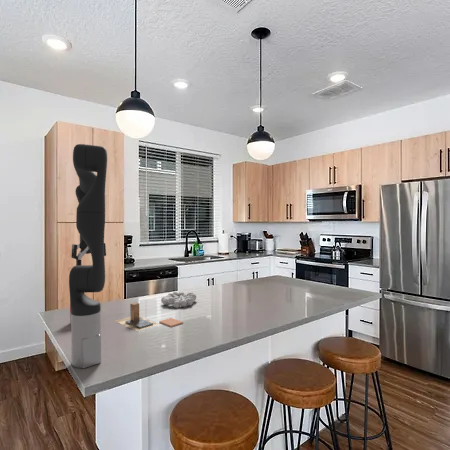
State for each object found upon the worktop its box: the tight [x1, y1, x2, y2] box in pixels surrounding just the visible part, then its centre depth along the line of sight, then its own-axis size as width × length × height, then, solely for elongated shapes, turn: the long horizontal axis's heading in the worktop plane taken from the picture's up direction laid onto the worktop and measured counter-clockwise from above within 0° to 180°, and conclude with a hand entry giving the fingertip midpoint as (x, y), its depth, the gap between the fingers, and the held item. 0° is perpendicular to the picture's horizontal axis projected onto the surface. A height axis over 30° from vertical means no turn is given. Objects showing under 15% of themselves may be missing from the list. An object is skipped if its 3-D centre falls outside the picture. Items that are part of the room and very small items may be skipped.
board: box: [114, 316, 161, 332], centre depth 148 cm, size 20×12×1 cm, turn 46°
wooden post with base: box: [125, 302, 153, 329], centre depth 146 cm, size 12×7×9 cm, turn 47°
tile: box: [158, 317, 184, 328], centre depth 148 cm, size 2×7×9 cm
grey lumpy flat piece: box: [160, 291, 197, 309], centre depth 185 cm, size 22×21×6 cm
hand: (89, 267), depth 139 cm, fingers open, 8 cm apart
